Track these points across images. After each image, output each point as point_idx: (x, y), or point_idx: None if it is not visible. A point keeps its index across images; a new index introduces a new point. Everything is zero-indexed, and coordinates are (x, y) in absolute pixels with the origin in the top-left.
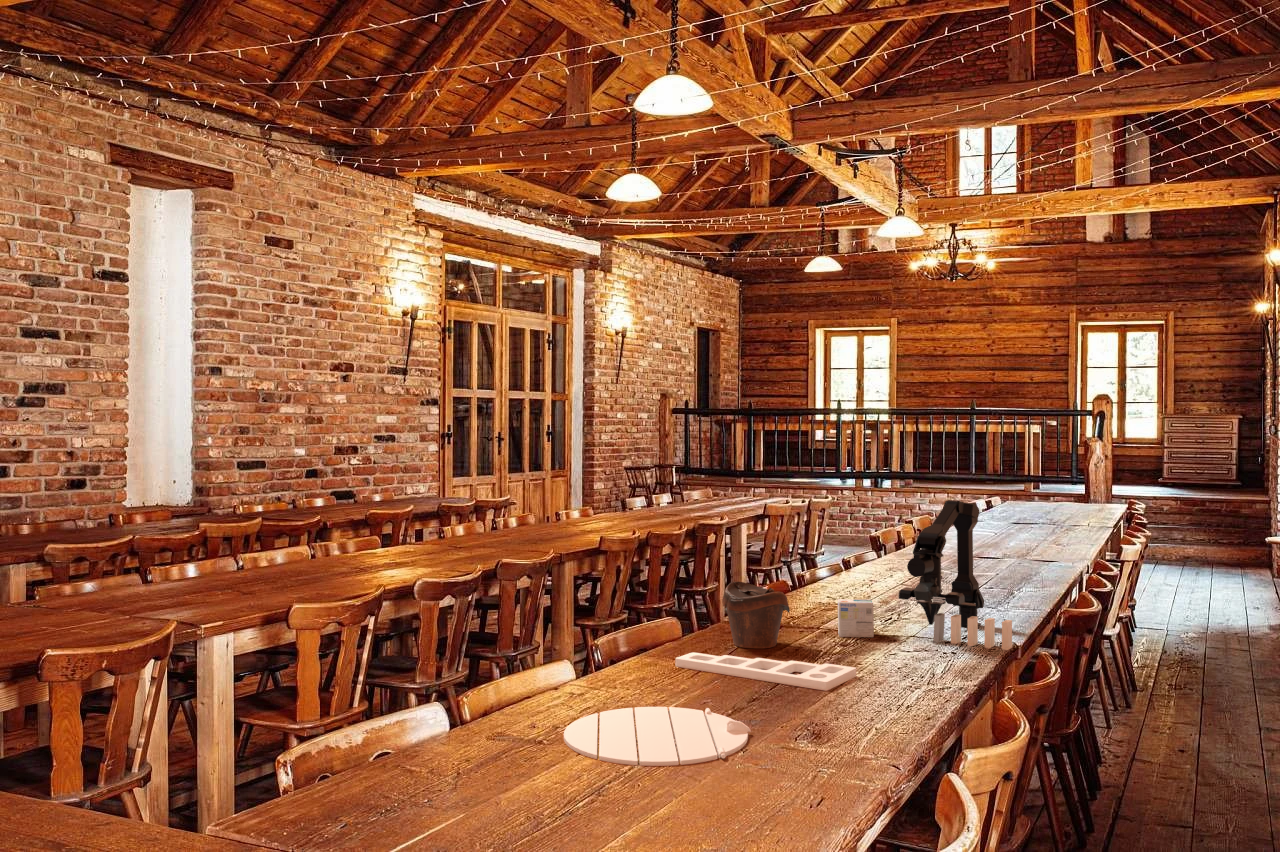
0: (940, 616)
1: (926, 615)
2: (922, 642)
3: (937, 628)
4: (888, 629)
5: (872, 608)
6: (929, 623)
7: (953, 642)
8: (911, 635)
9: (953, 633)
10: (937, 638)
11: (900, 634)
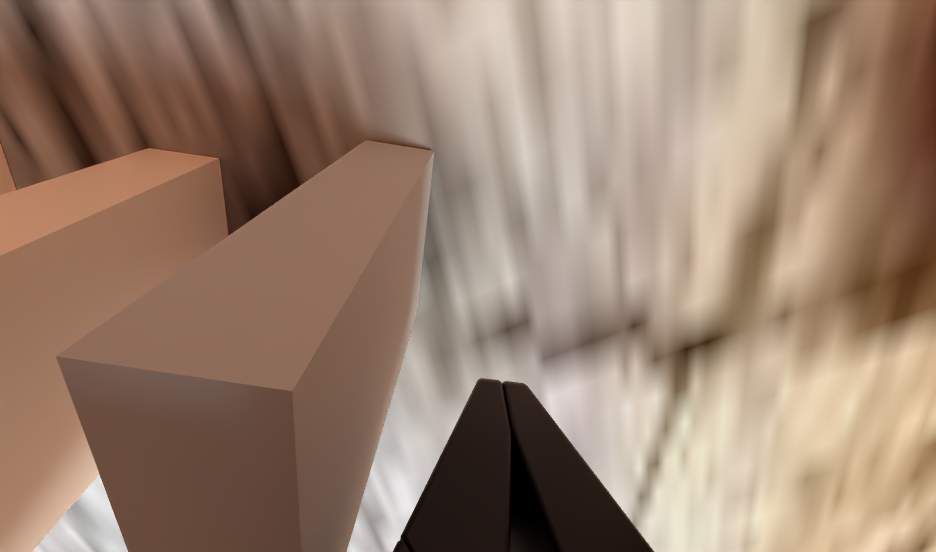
0: (103, 396)
1: (624, 518)
2: (562, 49)
3: (328, 199)
4: (895, 501)
5: None
6: (523, 390)
7: (174, 156)
8: (704, 372)
9: (82, 193)
10: (369, 152)
11: (815, 373)
